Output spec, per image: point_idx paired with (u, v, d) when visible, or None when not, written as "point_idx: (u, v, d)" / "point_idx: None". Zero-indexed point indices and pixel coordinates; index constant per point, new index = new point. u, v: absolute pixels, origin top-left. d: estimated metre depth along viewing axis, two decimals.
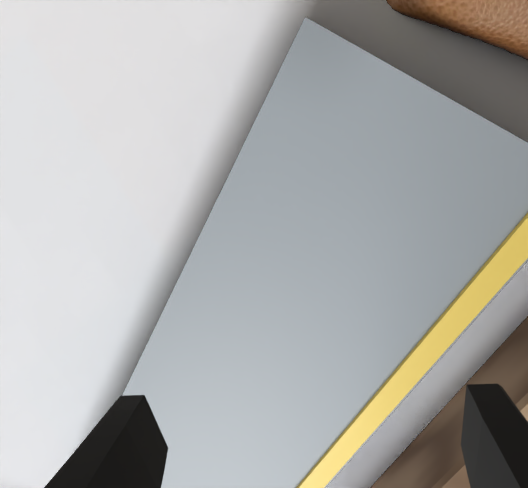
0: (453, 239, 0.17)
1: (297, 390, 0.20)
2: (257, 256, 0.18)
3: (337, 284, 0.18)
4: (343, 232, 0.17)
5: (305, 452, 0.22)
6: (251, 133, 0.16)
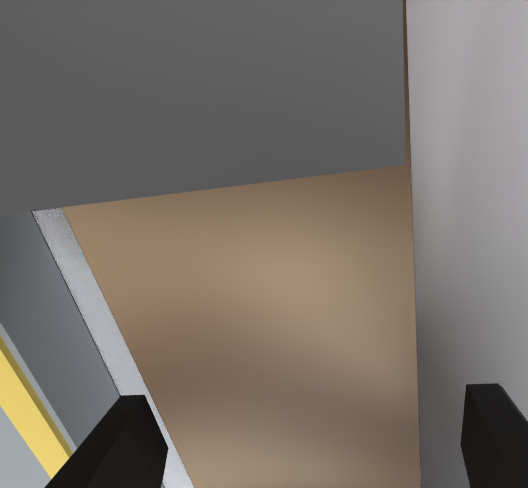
0: None
1: None
2: None
3: None
4: None
5: (9, 444, 0.13)
6: None
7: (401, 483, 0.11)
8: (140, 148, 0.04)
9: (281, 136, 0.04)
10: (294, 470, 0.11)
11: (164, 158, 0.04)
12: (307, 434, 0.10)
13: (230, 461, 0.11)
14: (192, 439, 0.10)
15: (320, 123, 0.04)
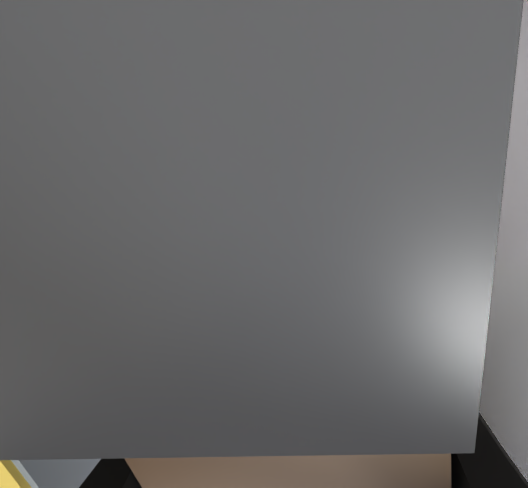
0: None
1: None
2: None
3: None
4: None
5: None
6: None
7: None
8: (147, 419, 0.03)
9: (322, 420, 0.03)
10: None
11: (176, 429, 0.03)
12: None
13: None
14: None
15: (372, 412, 0.03)
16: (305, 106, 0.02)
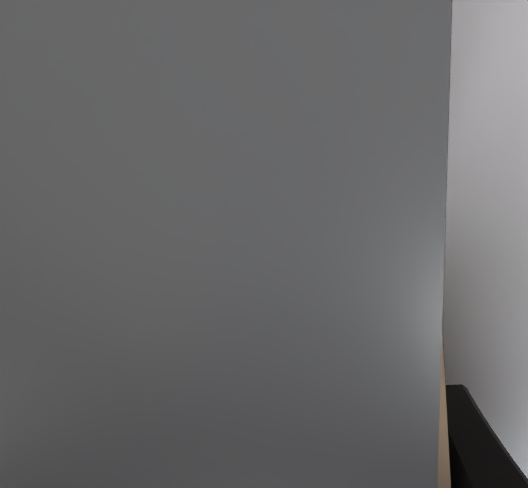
0: None
1: None
2: None
3: None
4: None
5: None
6: None
7: None
8: None
9: None
10: None
11: None
12: None
13: None
14: None
15: (339, 487, 0.03)
16: (266, 254, 0.02)
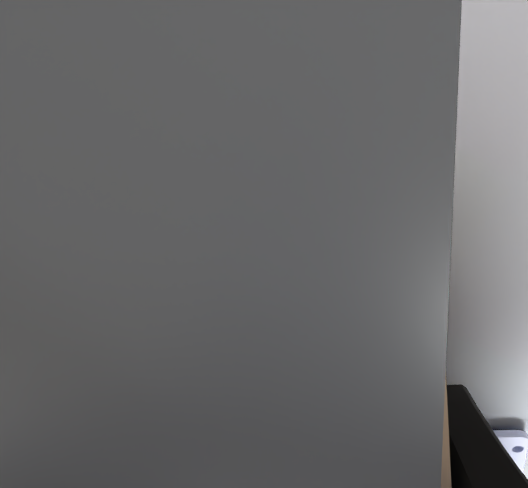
0: None
1: None
2: None
3: None
4: None
5: None
6: None
7: None
8: None
9: None
10: None
11: None
12: None
13: None
14: None
15: None
16: (272, 256, 0.02)
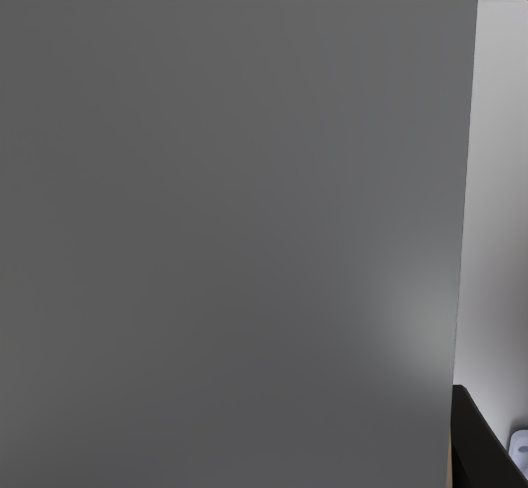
0: None
1: None
2: None
3: None
4: None
5: None
6: None
7: None
8: (142, 487, 0.04)
9: None
10: None
11: None
12: None
13: None
14: None
15: None
16: (280, 254, 0.02)
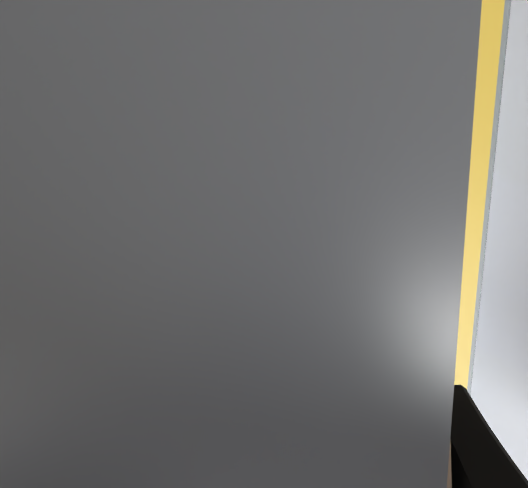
0: None
1: None
2: None
3: None
4: None
5: None
6: None
7: None
8: (142, 487, 0.04)
9: None
10: None
11: None
12: None
13: None
14: None
15: None
16: (282, 254, 0.02)
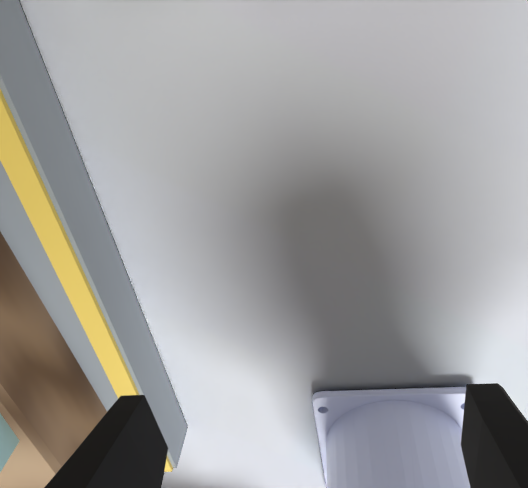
0: None
1: None
2: None
3: None
4: None
5: (34, 260, 0.18)
6: None
7: None
8: None
9: None
10: None
11: None
12: None
13: None
14: None
15: None
16: None
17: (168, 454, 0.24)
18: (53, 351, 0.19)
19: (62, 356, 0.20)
